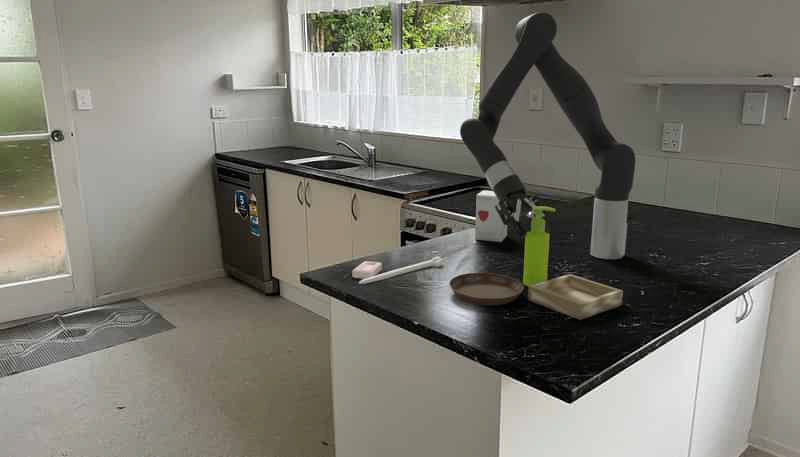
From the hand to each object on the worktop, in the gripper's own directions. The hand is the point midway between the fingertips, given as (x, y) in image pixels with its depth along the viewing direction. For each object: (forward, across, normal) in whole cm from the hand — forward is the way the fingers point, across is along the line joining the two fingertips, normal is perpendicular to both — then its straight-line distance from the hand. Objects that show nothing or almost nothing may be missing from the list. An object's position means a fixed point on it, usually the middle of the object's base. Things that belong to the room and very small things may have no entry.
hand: (535, 233), depth 150 cm
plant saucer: (+9, -16, +10) cm, 21 cm away
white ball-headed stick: (-8, -23, +28) cm, 37 cm away
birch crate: (+20, -3, -2) cm, 20 cm away
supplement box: (-18, +23, +37) cm, 47 cm away
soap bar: (-13, -30, +32) cm, 46 cm away
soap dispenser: (+10, 0, +8) cm, 13 cm away
